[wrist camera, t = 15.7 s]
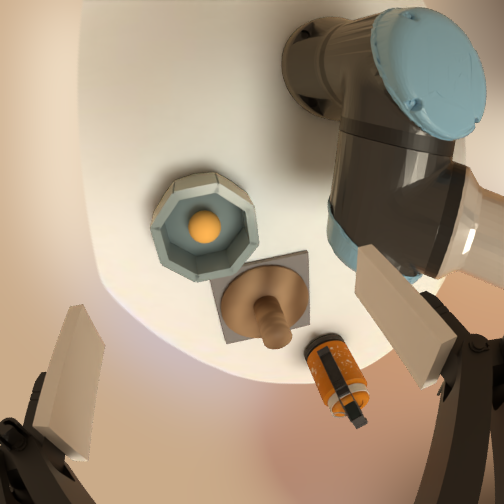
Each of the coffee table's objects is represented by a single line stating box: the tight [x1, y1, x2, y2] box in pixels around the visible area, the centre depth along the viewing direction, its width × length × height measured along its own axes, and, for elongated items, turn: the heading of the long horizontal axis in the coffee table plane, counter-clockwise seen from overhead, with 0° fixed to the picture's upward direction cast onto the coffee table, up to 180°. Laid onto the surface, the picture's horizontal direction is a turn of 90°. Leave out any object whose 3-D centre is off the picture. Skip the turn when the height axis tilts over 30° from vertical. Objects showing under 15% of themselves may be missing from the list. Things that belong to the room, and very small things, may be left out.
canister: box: [305, 335, 370, 429], centre depth 55 cm, size 9×11×20 cm
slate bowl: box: [150, 172, 259, 282], centre depth 42 cm, size 13×13×6 cm
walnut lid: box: [221, 265, 309, 349], centre depth 50 cm, size 15×15×9 cm
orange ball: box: [188, 210, 221, 243], centre depth 42 cm, size 4×4×4 cm
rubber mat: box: [210, 250, 310, 344], centre depth 54 cm, size 16×16×1 cm
